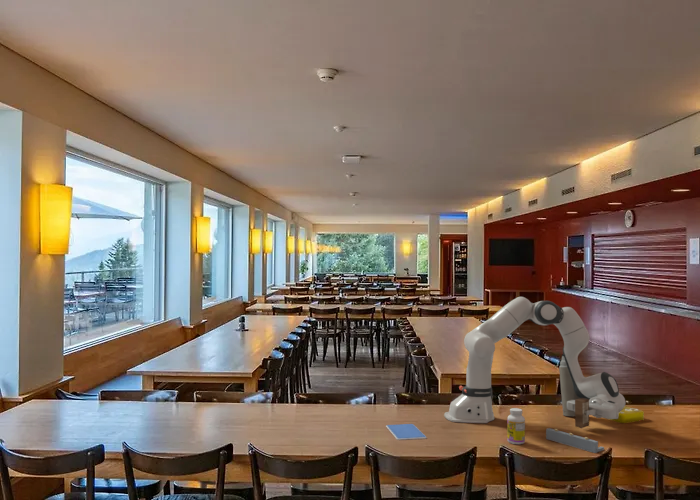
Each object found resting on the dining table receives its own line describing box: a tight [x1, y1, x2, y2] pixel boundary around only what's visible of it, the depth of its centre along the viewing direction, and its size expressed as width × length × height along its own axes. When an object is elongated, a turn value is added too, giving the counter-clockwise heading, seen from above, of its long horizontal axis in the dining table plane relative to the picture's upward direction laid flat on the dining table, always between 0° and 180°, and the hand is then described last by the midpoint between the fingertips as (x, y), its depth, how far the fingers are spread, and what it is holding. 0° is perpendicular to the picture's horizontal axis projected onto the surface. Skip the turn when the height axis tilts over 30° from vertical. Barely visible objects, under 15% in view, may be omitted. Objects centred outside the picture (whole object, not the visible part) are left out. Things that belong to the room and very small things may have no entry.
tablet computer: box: [385, 423, 428, 441], centre depth 235 cm, size 19×13×1 cm, turn 11°
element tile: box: [608, 405, 645, 424], centre depth 262 cm, size 15×15×5 cm
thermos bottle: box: [558, 353, 580, 417], centre depth 265 cm, size 8×8×28 cm
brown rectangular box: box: [574, 398, 590, 429], centre depth 236 cm, size 6×3×11 cm, turn 127°
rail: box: [545, 427, 605, 454], centre depth 222 cm, size 6×21×5 cm, turn 36°
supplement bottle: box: [506, 407, 526, 445], centre depth 223 cm, size 7×7×13 cm
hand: (580, 411), depth 235 cm, fingers closed on brown rectangular box, 3 cm apart
